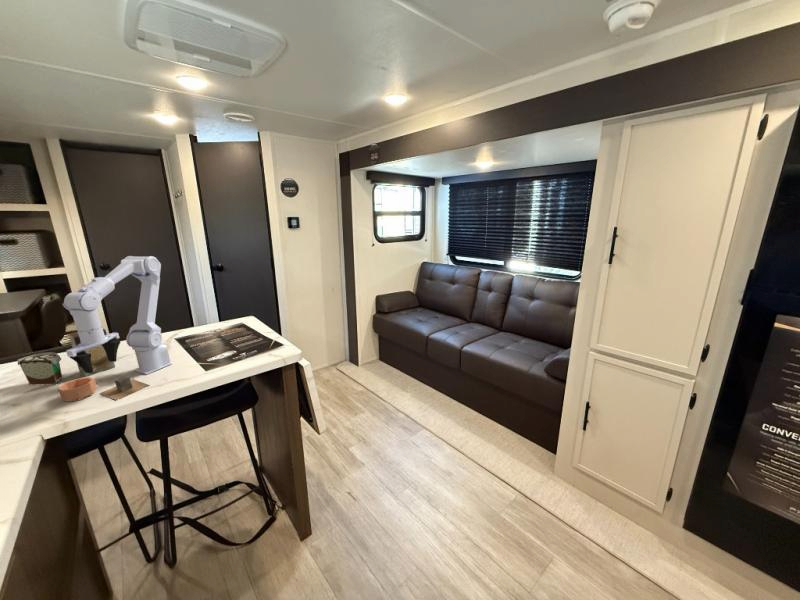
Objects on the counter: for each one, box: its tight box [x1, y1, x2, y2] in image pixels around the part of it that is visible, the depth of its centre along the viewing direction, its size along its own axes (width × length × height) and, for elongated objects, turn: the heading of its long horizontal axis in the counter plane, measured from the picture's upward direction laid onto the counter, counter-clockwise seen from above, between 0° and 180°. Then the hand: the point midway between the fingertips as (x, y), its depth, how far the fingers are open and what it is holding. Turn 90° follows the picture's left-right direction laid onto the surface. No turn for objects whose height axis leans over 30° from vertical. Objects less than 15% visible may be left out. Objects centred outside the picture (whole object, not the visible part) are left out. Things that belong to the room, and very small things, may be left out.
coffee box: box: [68, 328, 116, 377], centre depth 121 cm, size 9×6×16 cm
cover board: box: [99, 375, 151, 401], centre depth 109 cm, size 10×10×5 cm
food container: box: [16, 352, 63, 386], centre depth 115 cm, size 12×6×10 cm, turn 92°
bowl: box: [57, 376, 98, 402], centre depth 106 cm, size 8×8×4 cm
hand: (101, 366), depth 105 cm, fingers open, 7 cm apart
